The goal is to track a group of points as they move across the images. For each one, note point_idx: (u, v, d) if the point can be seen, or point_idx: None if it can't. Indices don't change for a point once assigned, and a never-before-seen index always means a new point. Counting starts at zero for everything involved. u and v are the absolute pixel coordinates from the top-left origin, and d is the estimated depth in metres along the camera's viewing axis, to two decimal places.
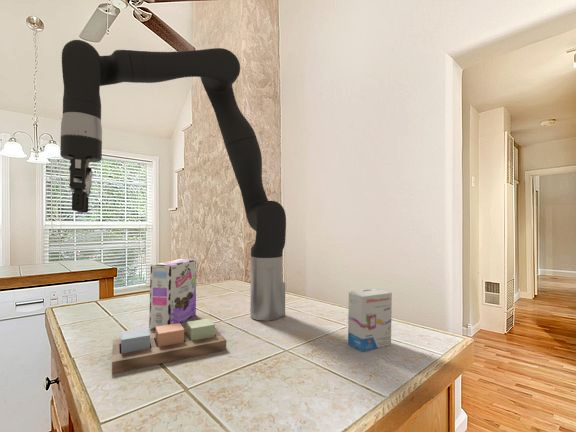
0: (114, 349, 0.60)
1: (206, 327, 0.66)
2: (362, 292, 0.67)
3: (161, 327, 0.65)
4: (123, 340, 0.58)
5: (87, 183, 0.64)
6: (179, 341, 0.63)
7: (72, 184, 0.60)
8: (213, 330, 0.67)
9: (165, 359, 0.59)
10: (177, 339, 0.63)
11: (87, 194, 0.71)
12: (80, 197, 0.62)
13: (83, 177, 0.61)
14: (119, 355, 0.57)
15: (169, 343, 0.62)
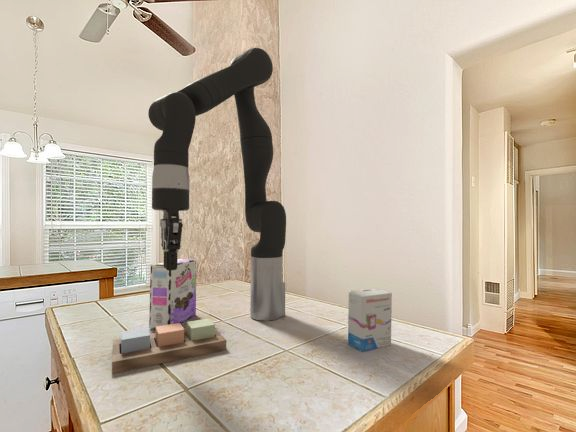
0: (114, 349, 0.60)
1: (206, 327, 0.66)
2: (362, 292, 0.67)
3: (161, 327, 0.65)
4: (123, 340, 0.58)
5: None
6: (179, 341, 0.63)
7: (169, 247, 0.61)
8: (213, 330, 0.67)
9: (165, 359, 0.59)
10: (177, 339, 0.63)
11: None
12: (174, 257, 0.63)
13: (179, 241, 0.61)
14: (119, 355, 0.57)
15: (169, 343, 0.62)
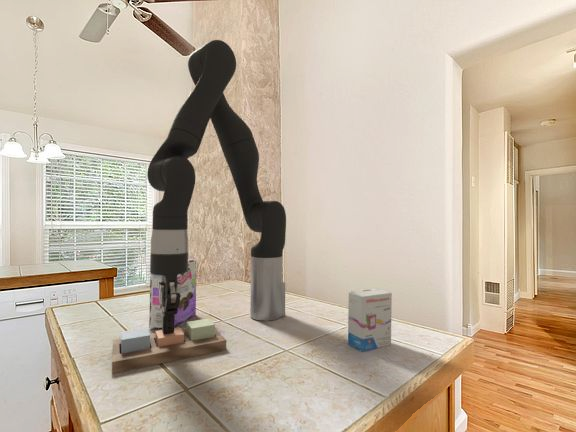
0: (114, 349, 0.60)
1: (206, 327, 0.66)
2: (362, 292, 0.67)
3: (161, 331, 0.65)
4: (123, 340, 0.58)
5: None
6: None
7: (166, 314, 0.62)
8: (213, 330, 0.67)
9: (165, 359, 0.59)
10: None
11: None
12: (171, 321, 0.64)
13: (177, 309, 0.62)
14: (119, 355, 0.57)
15: None
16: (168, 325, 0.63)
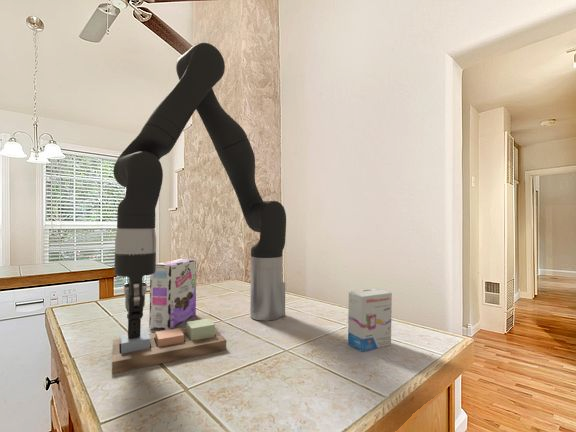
0: (114, 349, 0.60)
1: (206, 327, 0.66)
2: (362, 292, 0.67)
3: (161, 332, 0.65)
4: (123, 344, 0.58)
5: None
6: None
7: (130, 318, 0.58)
8: (213, 330, 0.67)
9: (165, 359, 0.59)
10: None
11: None
12: (136, 325, 0.60)
13: (141, 312, 0.59)
14: (119, 355, 0.57)
15: None
16: (133, 329, 0.60)
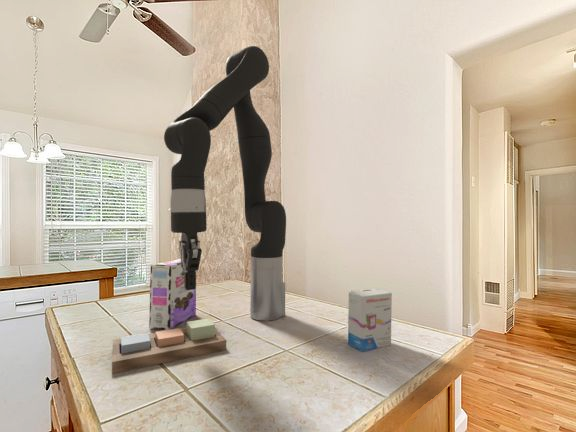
0: (114, 349, 0.60)
1: (206, 327, 0.66)
2: (362, 292, 0.67)
3: (161, 332, 0.65)
4: (123, 346, 0.58)
5: None
6: None
7: (188, 270, 0.64)
8: (213, 330, 0.67)
9: (165, 359, 0.59)
10: None
11: None
12: (193, 277, 0.66)
13: (198, 264, 0.64)
14: (119, 355, 0.57)
15: None
16: (190, 281, 0.66)
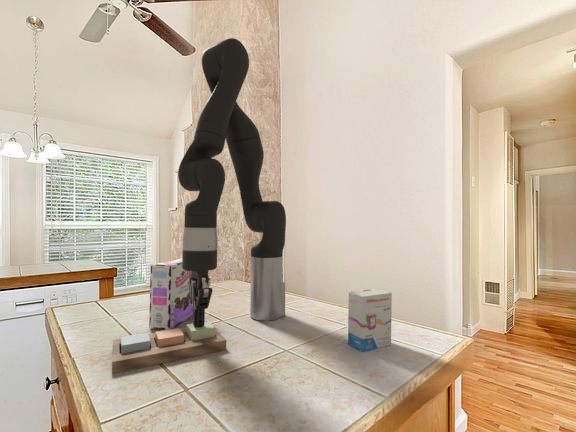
0: (114, 349, 0.60)
1: (206, 330, 0.66)
2: (362, 292, 0.67)
3: (161, 332, 0.65)
4: (123, 346, 0.58)
5: None
6: None
7: (198, 308, 0.65)
8: (213, 333, 0.67)
9: (165, 359, 0.59)
10: None
11: None
12: (202, 315, 0.67)
13: (208, 303, 0.65)
14: (119, 355, 0.57)
15: None
16: (199, 319, 0.66)
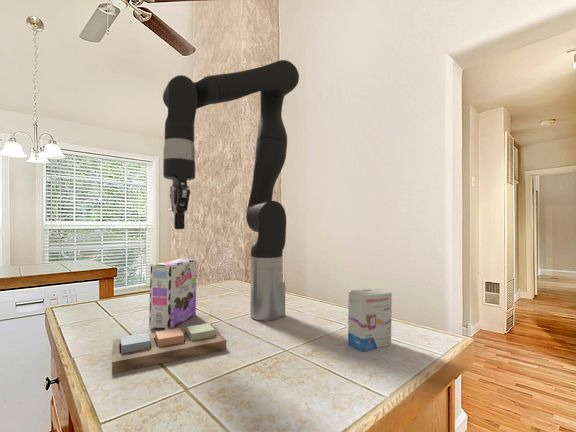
0: (114, 349, 0.60)
1: (206, 332, 0.66)
2: (362, 292, 0.67)
3: (161, 332, 0.65)
4: (123, 346, 0.58)
5: None
6: None
7: (178, 209, 0.73)
8: (213, 335, 0.67)
9: (165, 359, 0.59)
10: None
11: None
12: (182, 218, 0.75)
13: (187, 204, 0.73)
14: (119, 355, 0.57)
15: None
16: (179, 221, 0.74)
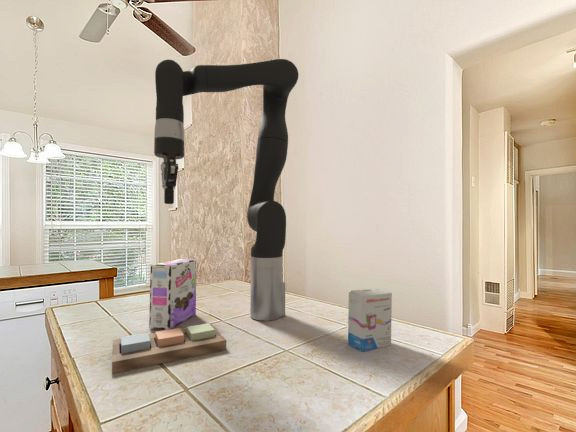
0: (114, 349, 0.60)
1: (206, 332, 0.66)
2: (362, 292, 0.67)
3: (161, 332, 0.65)
4: (123, 346, 0.58)
5: None
6: None
7: (167, 184, 0.78)
8: (213, 335, 0.67)
9: (165, 359, 0.59)
10: None
11: None
12: (171, 193, 0.80)
13: (175, 180, 0.78)
14: (119, 355, 0.57)
15: None
16: (169, 195, 0.80)
